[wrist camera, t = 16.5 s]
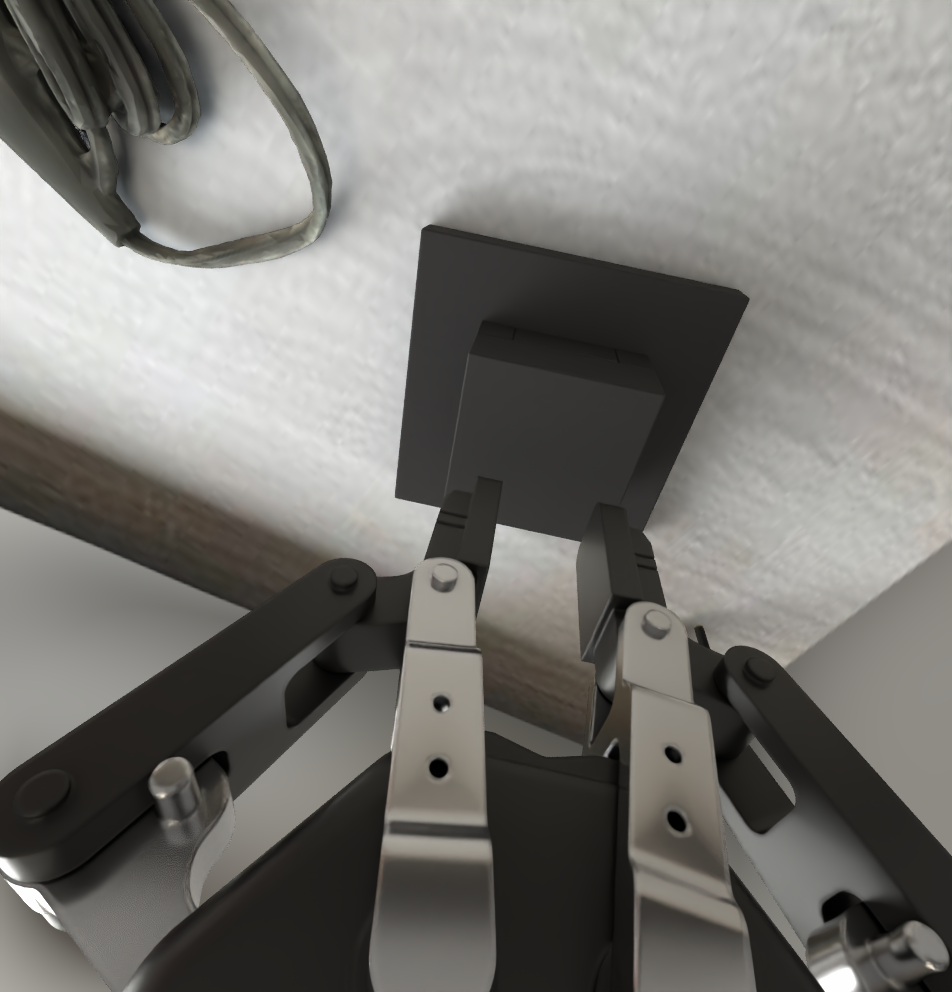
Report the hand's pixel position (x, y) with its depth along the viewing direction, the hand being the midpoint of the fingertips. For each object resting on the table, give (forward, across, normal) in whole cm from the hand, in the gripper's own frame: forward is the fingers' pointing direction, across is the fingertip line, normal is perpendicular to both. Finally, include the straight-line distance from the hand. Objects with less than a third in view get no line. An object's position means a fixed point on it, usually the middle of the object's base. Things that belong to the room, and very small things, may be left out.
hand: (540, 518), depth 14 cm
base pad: (+8, 0, 0) cm, 8 cm away
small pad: (+7, 0, 0) cm, 7 cm away
